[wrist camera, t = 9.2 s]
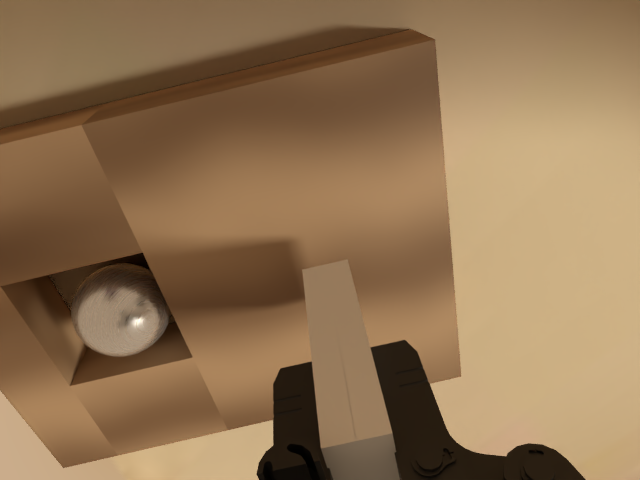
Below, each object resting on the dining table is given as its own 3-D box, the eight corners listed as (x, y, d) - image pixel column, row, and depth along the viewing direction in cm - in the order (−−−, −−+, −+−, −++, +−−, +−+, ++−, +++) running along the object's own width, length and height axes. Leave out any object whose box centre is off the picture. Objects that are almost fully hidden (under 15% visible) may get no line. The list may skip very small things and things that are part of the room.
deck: (-109, 155, 16) (-167, 184, 14) (411, 29, 16) (435, 39, 14) (81, 421, 23) (63, 467, 21) (442, 337, 23) (461, 376, 21)
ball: (36, 289, 17) (83, 314, 15) (118, 239, 19) (169, 255, 17) (80, 358, 19) (127, 389, 17) (151, 305, 21) (201, 327, 19)
